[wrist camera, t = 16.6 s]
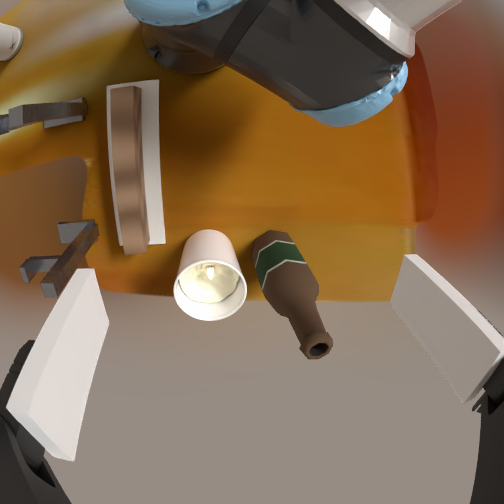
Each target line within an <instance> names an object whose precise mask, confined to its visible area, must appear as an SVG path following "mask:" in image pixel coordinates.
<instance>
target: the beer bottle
mask: <svg viewBox="0 0 504 504" xmlns="http://www.w3.org/2000/svg"><path fill="white" fill-rule="evenodd" d="M252 259H253V263H254V266H255V269H256V272H257V276H258V279H259V282H260V285H261V288H262V291H263V294H264V296H265V298H266V299H267V301H268V302H269V303H270V304H271V306H272V307H273V308H274V309H275V311H276V312H277V313H279V314H280V315H281V316H285V317H288V319H289V321H290V323H291V325H292V327H293V329H294V331H295V333H296V336H297V338H298V340H299V342H300V344H301V346H300V350H301V351H302V352H303V353H304V355H305V356H306V357H307V358H308V359H320V358H322V357H323V356H325V355H327V354H328V353H329V352H330V350H331V348H332V346H333V341H332V338H331V337H330V335H329V333H328V332H326V331H325V328H324V326H323V323H322V321H321V318H320V316H319V313H318V311H317V308H316V303H315V301H316V298H317V296H318V293H319V285H318V283H317V280H316V278H315V277H314V275H313V273H312V272H311V270H310V268H309V267H308V265H307V263H306V262H305V260H304V258H303V257H302V255H301V254H300V252H299V250H298V249H297V247H296V246H295V244H294V242H293V241H292V239H291V238H290V236H289V235H288V234H287V233H284V232H278V231H272V230H270V231H268V232H267V233H265V234H264V235H262V236H260V237H259V238H257V239H256V240H255V244H254V248H253V252H252Z"/></svg>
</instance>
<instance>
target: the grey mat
mask: <svg viewBox="0 0 504 504" xmlns="http://www.w3.org/2000/svg"><path fill="white" fill-rule="evenodd" d="M127 86H136V87H139V88H142V149H143V168H144V183H145V195H146V206H147V217H148V226H149V235H150V241H149V244H166V239H165V228H164V217H163V204H162V189H161V171H160V145H159V79H158V80H147V81H138V82H130V83H123V84H116V85H110V86H107V134H108V152H109V166H110V177H111V187H112V196H113V204H114V212H115V219H116V226H117V232H118V239H119V244H120V246H123V242H122V235H121V229H120V222H119V215H118V207H117V199H116V190H115V180H114V169H113V156H112V140H111V108H110V89H113V88H119V87H127ZM149 244H148V245H149Z"/></svg>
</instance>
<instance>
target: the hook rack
mask: <svg viewBox="0 0 504 504" xmlns="http://www.w3.org/2000/svg"><path fill="white" fill-rule="evenodd" d="M85 115H87V102H84V98H78V99H74V100H69V101H65V102H60V103H42V104H27V105H21V106H18V107H15V108H12V109H9V114H5V115H0V135H1V134H5V133H8V132H9V131H11V130H14V129H17V128H21V127H24V126H28V125H31V124H35V123H39V122H43V121H44V128H49V127H53V126H57V125H62V124H67V123H72V122H77V121H82V120H85ZM57 227H58V231H59V236H60V240H61V243H62V244H63V243H71V244H70V245H69V246H68V248H67V249H66V250H65V251H64V252H63V254H62V255H56V256H36V257H35V256H34V257H30V258H29V259H26V260H25V262H24V263H23V264H22V265H21V266H20V267H19V270H20V272H21V275H22V278H23V281H24V283H29V282H30V281H31V280H32V278H33V277H34V276H35V275H36V272H48V273H47V274H46V276H45V277H44V278H43V280H42V281H41V283H40V285H41V287H42V290H43V293H44V296H45V297H58V296H59V294H60V293H61V291H62V290H63V288H64V286H65V285H66V283H67V282H68V280H69V278H70V277H71V275H72V274H73V272H74V271H75V269H76V268H77V266H78V264H79V263H80V262H81V260H82V259H83V257H84V256H85V254H86V253H87V251H88V250H89V249H90V247H91V246H92V244H93V243H94V242H96V241H97V240H98V236H99V230H98V224H95V219H92V220H79V221H68V222H59V223H58V224H57Z"/></svg>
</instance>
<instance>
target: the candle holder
mask: <svg viewBox="0 0 504 504" xmlns="http://www.w3.org/2000/svg"><path fill="white" fill-rule="evenodd" d="M173 292H174V298H175V301H176V303H177V304H178V306H179V307H180V308H181V310H182V311H184V312H185V313H186V314H188V315H189V316H191V317H193V318H196V319H200V320H205V321H214V320H220V319H224V318H226V317H228V316H230V315H232V314H234V313H235V312H236V311H237V310H238V309H239V308H240V307H241V306H242V304H243V303H244V301H245V298H246V294H247V286H246V282H245V279H244V277H243V275H242V272H241V269H240V266H239V263H238V260H237V257H236V254H235V251H234V248H233V246H232V243H231V242H230V240H229V239H228V237H227V236H226V235H224V234H223V233H221V232H219V231H216V230H211V229H206V230H201V231H198V232H196V233H194V234H193V235H191V236H190V237H189V239H188V240H187V241H186V243H185V246H184V249H183V252H182V256H181V260H180V264H179V268H178V273H177V277H176V280H175V283H174V288H173Z"/></svg>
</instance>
